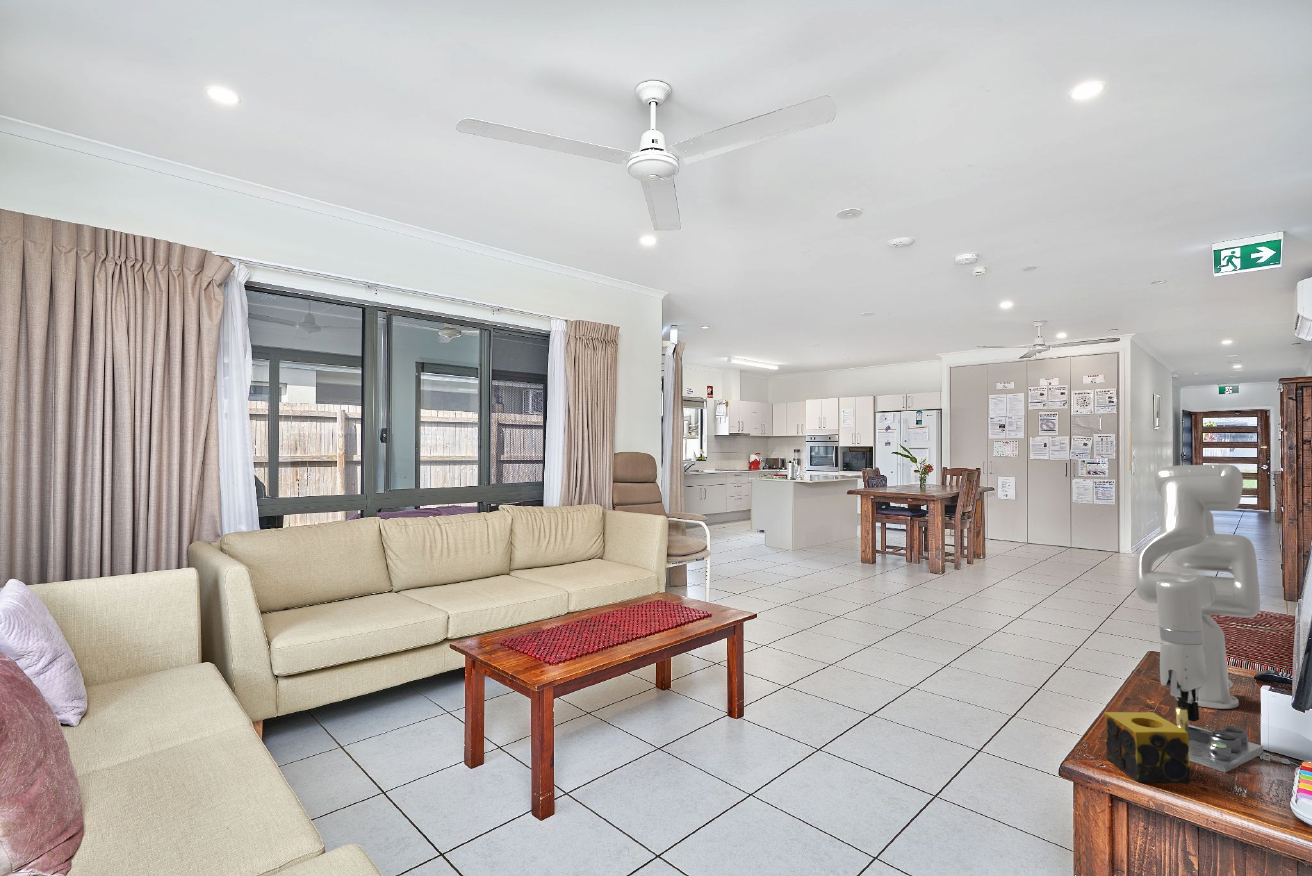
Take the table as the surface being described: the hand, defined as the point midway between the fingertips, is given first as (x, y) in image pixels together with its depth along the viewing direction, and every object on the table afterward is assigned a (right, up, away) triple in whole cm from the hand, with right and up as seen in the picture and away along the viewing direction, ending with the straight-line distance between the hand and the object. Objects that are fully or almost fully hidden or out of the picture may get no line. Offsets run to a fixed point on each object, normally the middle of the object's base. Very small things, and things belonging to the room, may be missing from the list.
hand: (1188, 718), depth 140 cm
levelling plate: (-1, -4, -5) cm, 7 cm away
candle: (-19, -5, -13) cm, 23 cm away
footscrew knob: (0, -3, -5) cm, 6 cm away
